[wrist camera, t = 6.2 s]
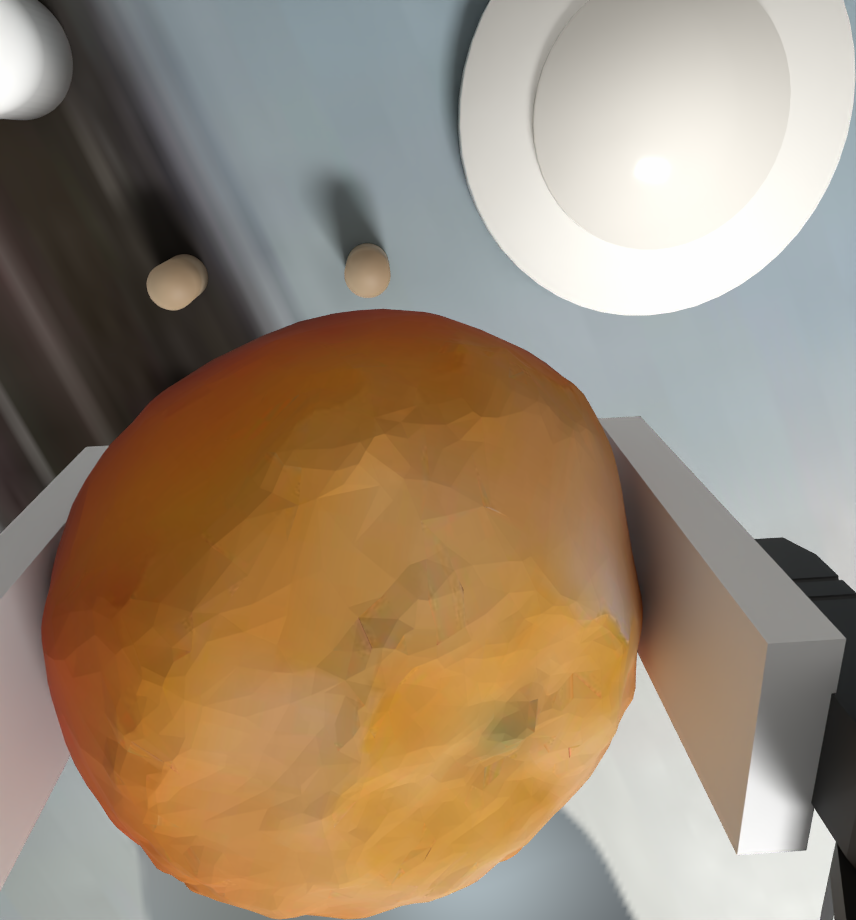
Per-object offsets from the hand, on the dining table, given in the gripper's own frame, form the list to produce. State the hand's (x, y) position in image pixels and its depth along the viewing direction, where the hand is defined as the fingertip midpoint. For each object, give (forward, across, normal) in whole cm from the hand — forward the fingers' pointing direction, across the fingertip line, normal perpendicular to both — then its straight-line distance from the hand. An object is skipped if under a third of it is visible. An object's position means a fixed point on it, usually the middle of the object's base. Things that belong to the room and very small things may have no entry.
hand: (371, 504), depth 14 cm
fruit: (+1, 0, 0) cm, 1 cm away
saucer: (+18, +10, +6) cm, 22 cm away
